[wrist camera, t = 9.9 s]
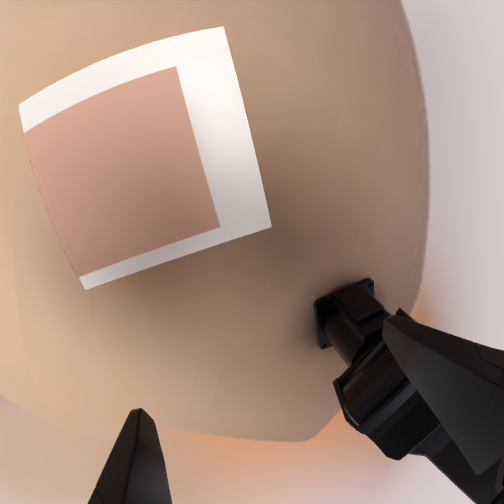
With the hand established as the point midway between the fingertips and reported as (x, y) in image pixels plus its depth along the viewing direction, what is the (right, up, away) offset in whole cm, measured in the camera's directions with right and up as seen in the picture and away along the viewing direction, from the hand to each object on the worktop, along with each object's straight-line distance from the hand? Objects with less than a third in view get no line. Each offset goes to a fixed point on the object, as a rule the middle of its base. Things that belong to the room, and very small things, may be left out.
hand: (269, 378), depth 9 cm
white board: (-8, +10, +8) cm, 15 cm away
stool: (-7, +10, +7) cm, 14 cm away
